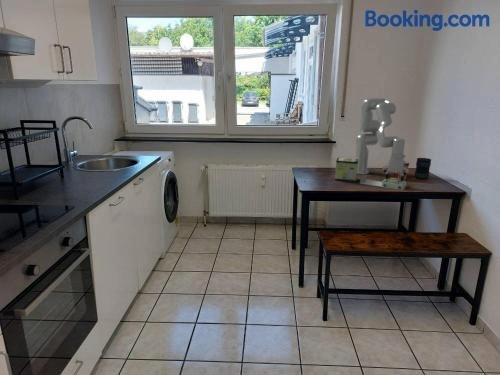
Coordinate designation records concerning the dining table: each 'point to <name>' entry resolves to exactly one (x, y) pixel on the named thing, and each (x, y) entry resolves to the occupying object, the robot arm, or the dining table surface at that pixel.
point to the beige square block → (394, 180)
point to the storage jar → (422, 168)
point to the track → (375, 183)
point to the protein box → (346, 169)
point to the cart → (400, 185)
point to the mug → (398, 175)
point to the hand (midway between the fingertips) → (394, 180)
